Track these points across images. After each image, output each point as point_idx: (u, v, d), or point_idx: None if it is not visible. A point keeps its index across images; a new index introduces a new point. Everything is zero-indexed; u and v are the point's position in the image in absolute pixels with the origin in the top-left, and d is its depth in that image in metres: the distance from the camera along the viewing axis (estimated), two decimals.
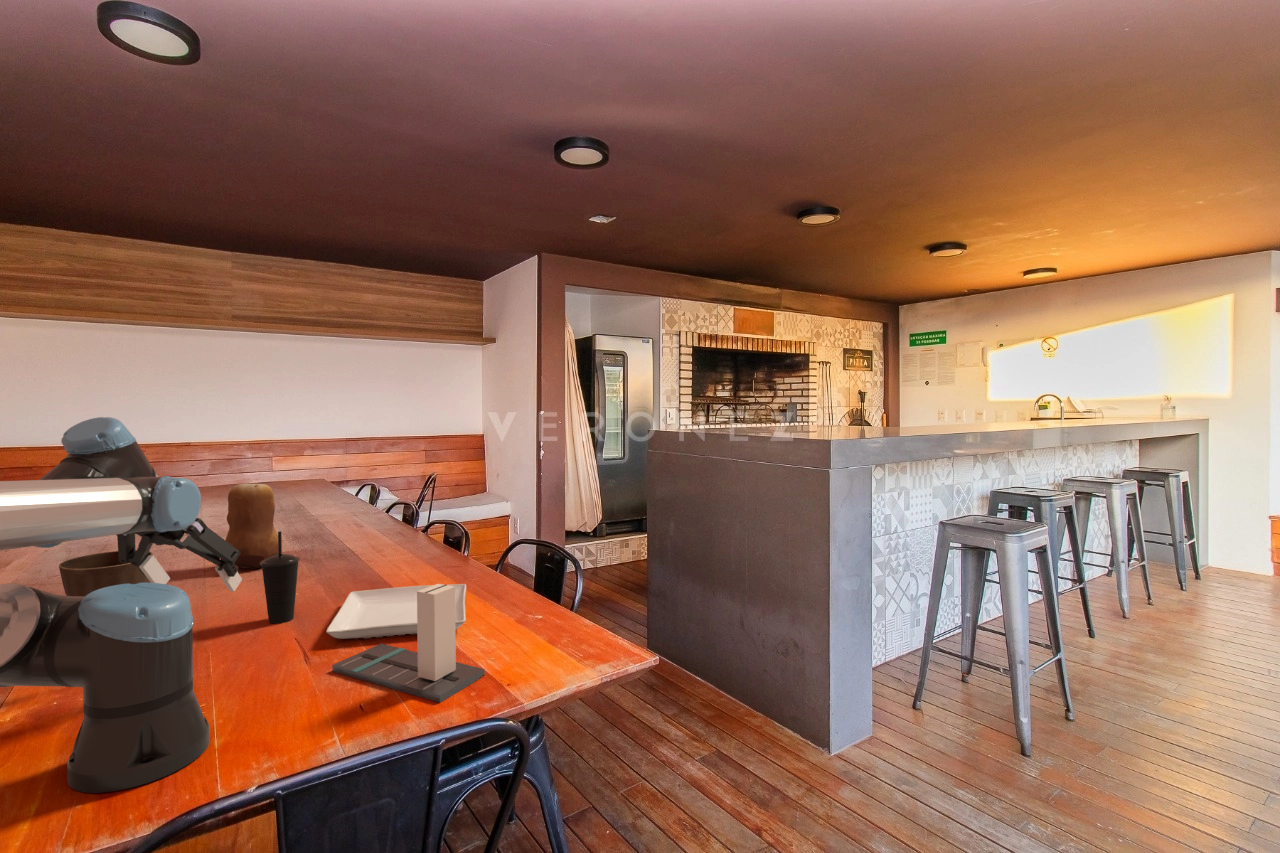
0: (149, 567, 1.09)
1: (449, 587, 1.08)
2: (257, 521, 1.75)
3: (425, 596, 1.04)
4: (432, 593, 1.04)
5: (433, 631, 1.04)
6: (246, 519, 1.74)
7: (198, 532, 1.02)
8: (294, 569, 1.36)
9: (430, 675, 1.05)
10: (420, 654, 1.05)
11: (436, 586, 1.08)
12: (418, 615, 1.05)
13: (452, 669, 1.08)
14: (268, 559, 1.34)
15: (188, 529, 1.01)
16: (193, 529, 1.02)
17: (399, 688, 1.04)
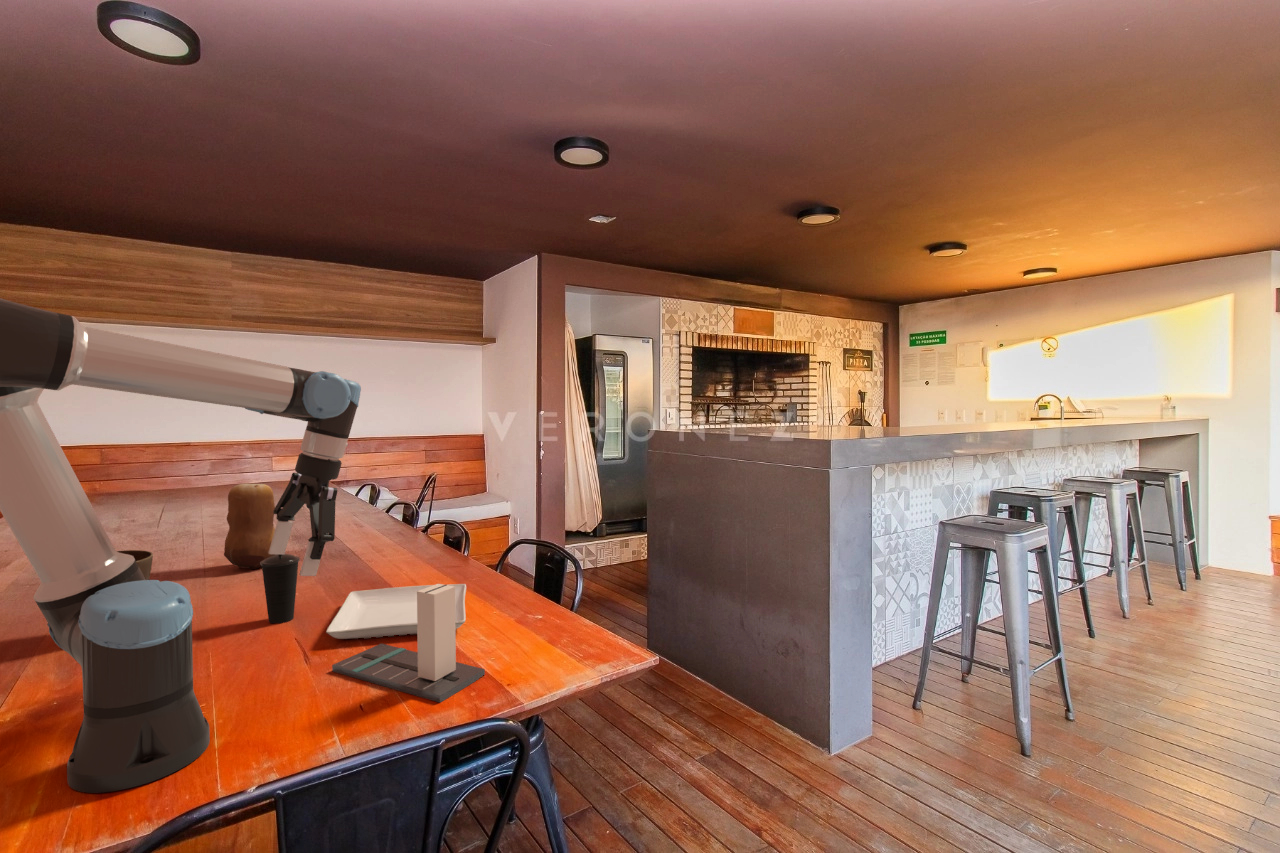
0: (281, 527, 1.19)
1: (449, 587, 1.08)
2: (257, 521, 1.75)
3: (425, 596, 1.04)
4: (432, 593, 1.04)
5: (433, 631, 1.04)
6: (247, 519, 1.74)
7: (326, 495, 1.12)
8: (294, 569, 1.36)
9: (430, 675, 1.05)
10: (420, 654, 1.05)
11: (436, 586, 1.08)
12: (418, 615, 1.05)
13: (452, 669, 1.08)
14: (268, 559, 1.34)
15: (323, 487, 1.12)
16: (325, 489, 1.12)
17: (399, 688, 1.04)
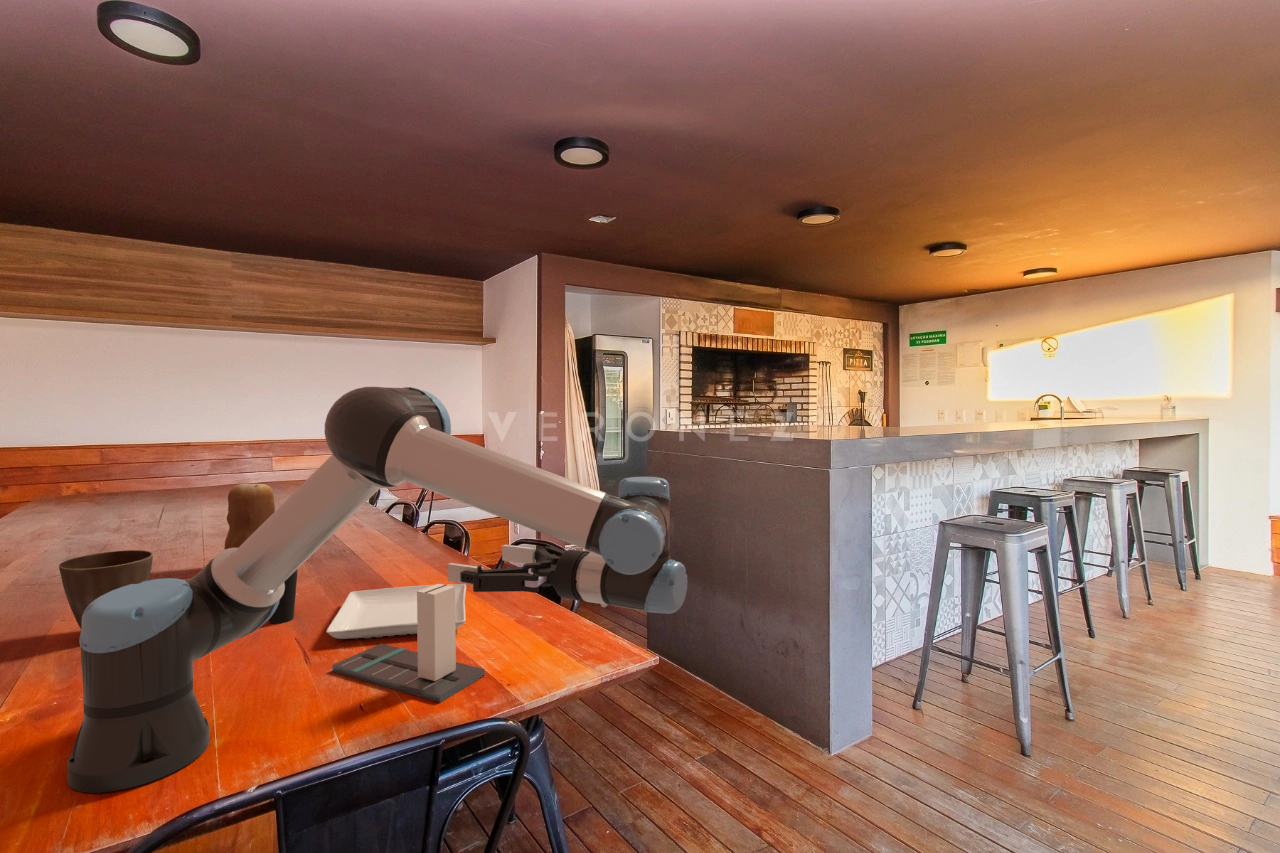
0: (527, 552, 1.06)
1: (449, 587, 1.08)
2: (257, 521, 1.75)
3: (425, 596, 1.04)
4: (432, 593, 1.04)
5: (433, 631, 1.04)
6: (247, 519, 1.74)
7: (526, 578, 0.90)
8: None
9: (430, 675, 1.05)
10: (420, 654, 1.05)
11: (436, 586, 1.08)
12: (418, 615, 1.05)
13: (452, 669, 1.08)
14: None
15: (537, 575, 0.90)
16: (533, 577, 0.90)
17: (399, 688, 1.04)
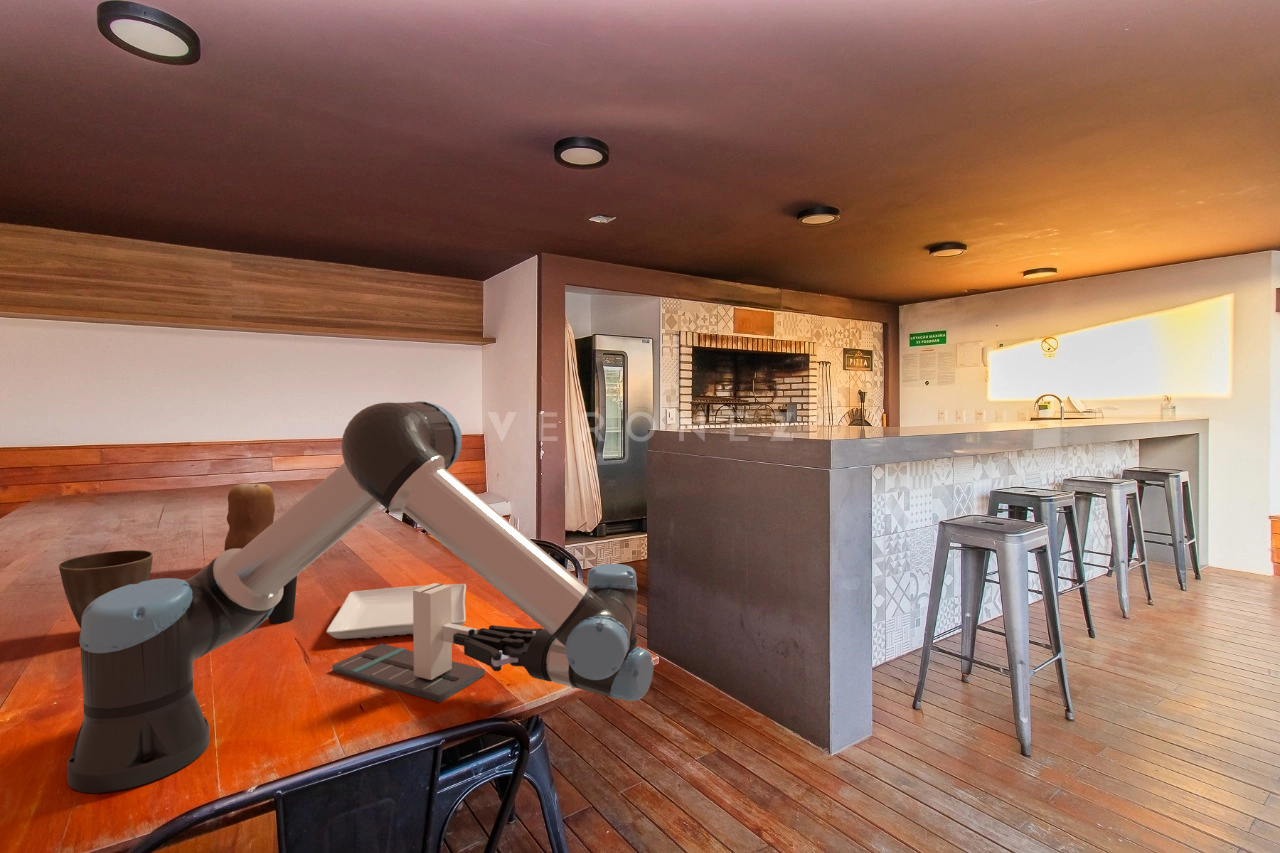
0: None
1: (445, 586, 1.08)
2: (257, 521, 1.75)
3: (421, 595, 1.05)
4: (428, 592, 1.05)
5: (429, 630, 1.04)
6: (246, 519, 1.74)
7: (491, 656, 0.95)
8: None
9: (426, 674, 1.05)
10: (416, 653, 1.06)
11: (432, 585, 1.08)
12: (414, 614, 1.06)
13: (448, 668, 1.08)
14: None
15: (498, 655, 0.95)
16: (493, 656, 0.94)
17: (399, 688, 1.04)
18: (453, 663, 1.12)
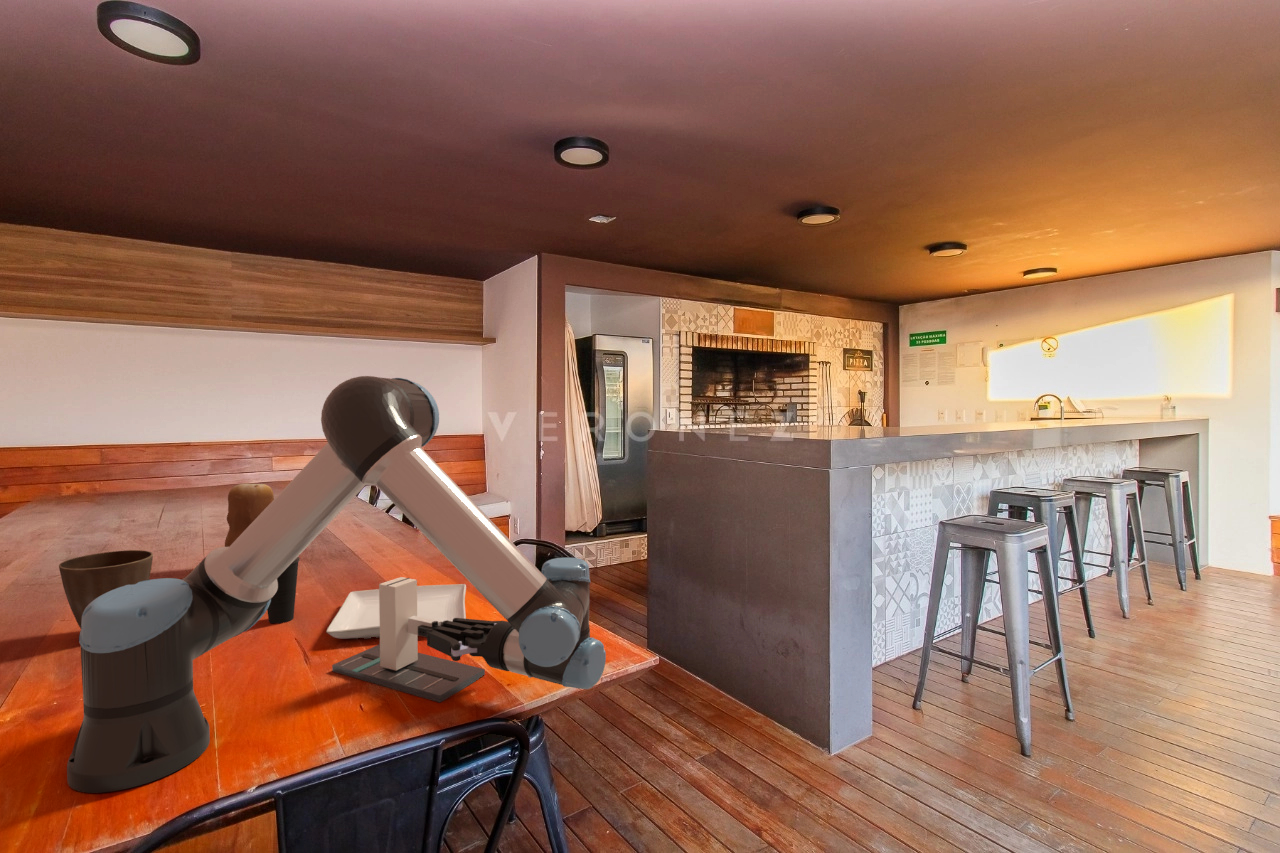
0: None
1: (411, 580, 1.12)
2: None
3: (386, 589, 1.08)
4: (393, 586, 1.08)
5: (394, 622, 1.08)
6: (246, 519, 1.74)
7: (451, 646, 0.99)
8: (294, 569, 1.36)
9: (391, 665, 1.09)
10: (382, 644, 1.09)
11: (398, 579, 1.12)
12: (380, 607, 1.09)
13: (414, 659, 1.12)
14: None
15: (457, 645, 0.98)
16: (453, 646, 0.98)
17: (399, 688, 1.04)
18: (453, 663, 1.12)
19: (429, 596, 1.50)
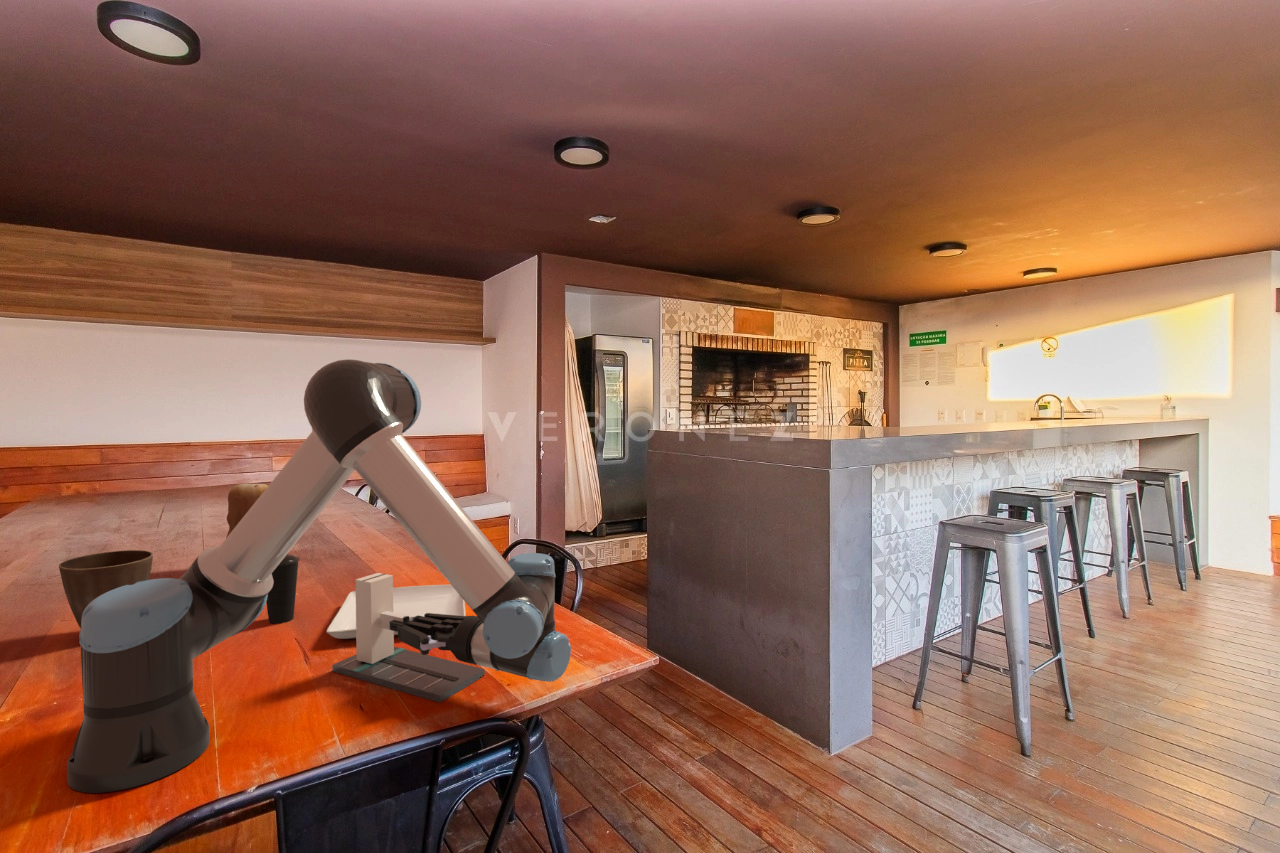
0: None
1: (387, 576, 1.14)
2: None
3: (362, 584, 1.11)
4: (369, 581, 1.11)
5: (370, 617, 1.11)
6: None
7: (420, 640, 1.01)
8: (294, 569, 1.36)
9: (367, 658, 1.11)
10: (358, 638, 1.12)
11: (375, 575, 1.15)
12: (356, 602, 1.12)
13: (390, 653, 1.15)
14: None
15: (425, 639, 1.00)
16: (421, 640, 1.00)
17: (399, 688, 1.04)
18: (453, 663, 1.12)
19: (429, 596, 1.50)
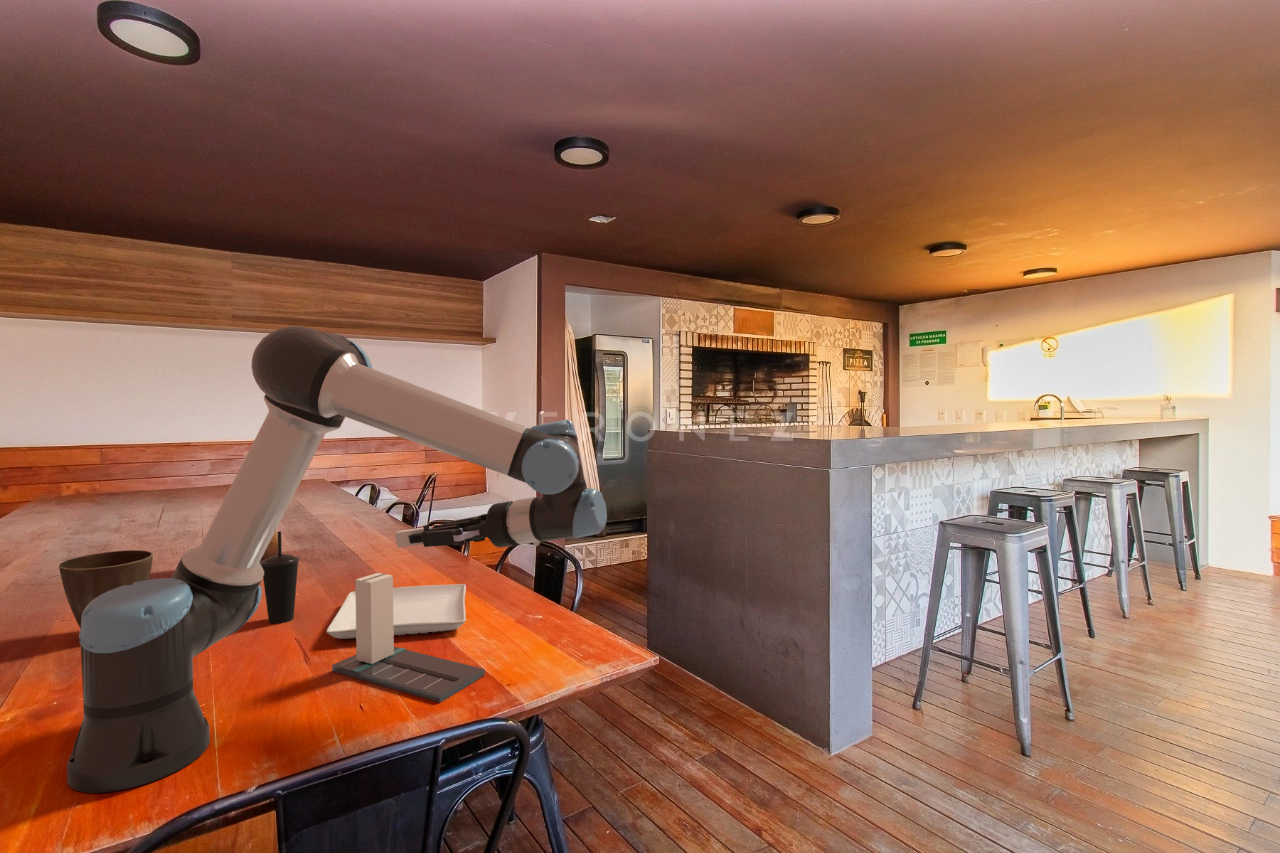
0: None
1: (387, 576, 1.14)
2: None
3: (362, 584, 1.11)
4: (369, 581, 1.11)
5: (370, 617, 1.11)
6: None
7: (452, 534, 1.00)
8: (294, 569, 1.36)
9: (367, 658, 1.11)
10: (358, 638, 1.12)
11: (375, 575, 1.15)
12: (356, 602, 1.12)
13: (390, 653, 1.15)
14: (268, 559, 1.34)
15: (459, 530, 0.99)
16: (455, 532, 0.99)
17: (399, 688, 1.04)
18: (453, 663, 1.12)
19: (429, 596, 1.50)
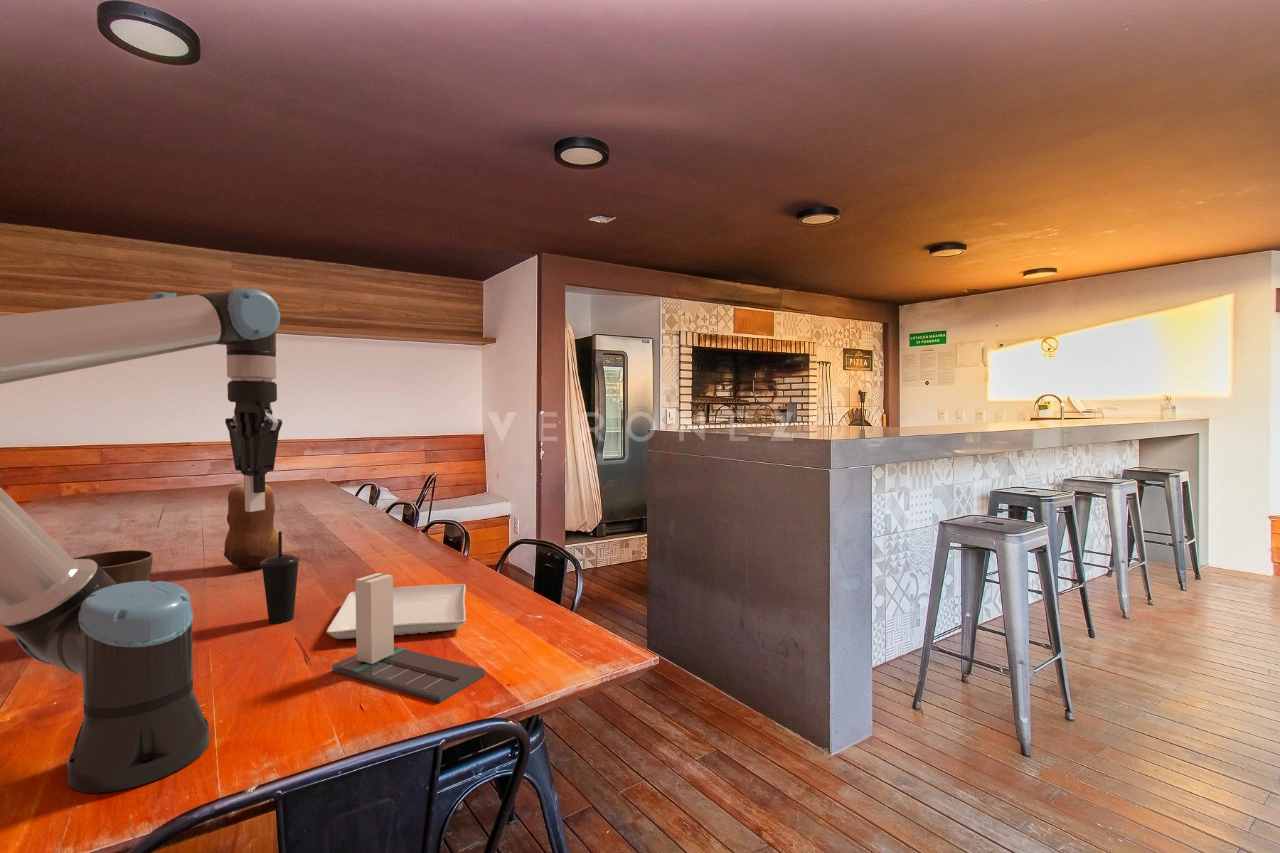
0: None
1: (387, 576, 1.14)
2: (257, 521, 1.75)
3: (362, 584, 1.11)
4: (369, 581, 1.11)
5: (370, 617, 1.11)
6: (247, 519, 1.74)
7: (269, 429, 1.07)
8: (294, 569, 1.36)
9: (367, 658, 1.11)
10: (358, 638, 1.12)
11: (375, 575, 1.15)
12: (356, 602, 1.12)
13: (390, 653, 1.15)
14: (268, 559, 1.34)
15: (267, 420, 1.06)
16: (269, 424, 1.06)
17: (399, 688, 1.04)
18: (453, 663, 1.12)
19: (428, 596, 1.50)
